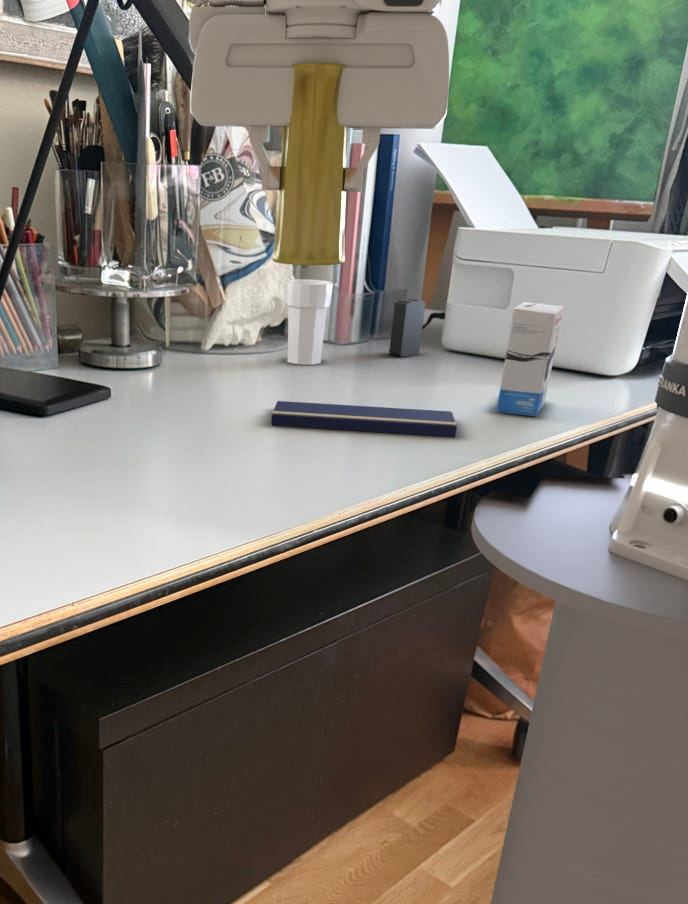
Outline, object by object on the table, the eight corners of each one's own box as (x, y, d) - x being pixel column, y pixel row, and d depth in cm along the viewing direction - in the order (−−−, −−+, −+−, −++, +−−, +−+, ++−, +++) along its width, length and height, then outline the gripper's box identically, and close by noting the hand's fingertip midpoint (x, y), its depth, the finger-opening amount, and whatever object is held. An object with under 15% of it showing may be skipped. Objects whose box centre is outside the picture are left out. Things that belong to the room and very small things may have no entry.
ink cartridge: (407, 351, 147) (413, 298, 143) (419, 354, 146) (426, 299, 142) (388, 355, 144) (394, 300, 140) (400, 357, 142) (406, 302, 139)
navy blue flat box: (450, 421, 107) (452, 410, 106) (455, 437, 101) (457, 425, 100) (276, 410, 109) (277, 399, 109) (271, 425, 103) (271, 413, 103)
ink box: (537, 418, 110) (557, 312, 104) (494, 412, 111) (511, 308, 106) (546, 403, 117) (565, 304, 111) (505, 398, 118) (522, 300, 113)
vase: (327, 267, 76) (340, 61, 69) (259, 262, 78) (266, 64, 72) (354, 262, 80) (370, 69, 74) (290, 258, 83) (299, 71, 77)
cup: (291, 355, 141) (296, 278, 136) (332, 360, 139) (339, 281, 134) (274, 362, 136) (278, 282, 131) (316, 367, 134) (323, 286, 129)
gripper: (182, -18, 69) (181, 189, 76) (464, -20, 67) (439, 194, 73) (196, -4, 75) (194, 188, 81) (456, -5, 72) (434, 192, 78)
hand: (312, 191), depth 77 cm, fingers closed on vase, 5 cm apart
